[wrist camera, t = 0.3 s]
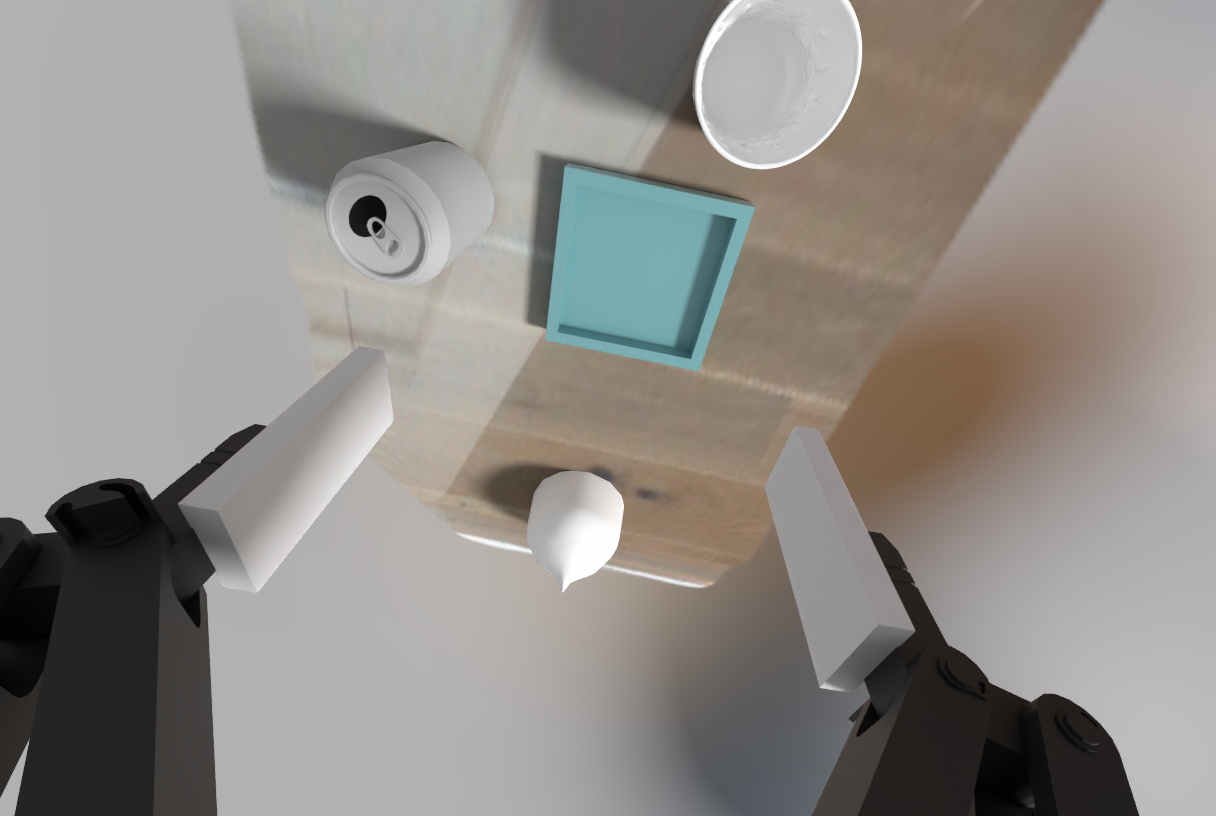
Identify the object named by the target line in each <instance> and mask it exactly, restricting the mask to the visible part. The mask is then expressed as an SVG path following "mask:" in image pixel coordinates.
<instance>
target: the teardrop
mask: <svg viewBox="0 0 1216 816" xmlns="http://www.w3.org/2000/svg"><path fill="white" fill-rule="evenodd" d="M623 510H624V504H623V500H622V496H621V495H620V494H619V492H618V491H617V490H616V489H615V488H614V487H613V486H612V484H611V483H610V482H608V481H606V480H604V479H602V478H600V477H598V476H596V475H594V474H592V473H588V472H581V471H565V472H559V473H557V474H554V475H552V476H550V477H548V478H546V479H544V480H542V482H541V483H540V485H539V486H538V488H537V489H536V491H535V492H534V496H533V500H532V505H531V510H530V515H529V520H528V525H527V540H528V545H529V547H530V549H531V551H532V553H533V555H534V557H535V558H536V560H537V562H538V563H539V564H540V565H541V566H542V567H544V568H545V569H546V570H547V571H548V572H549V573H550V574H551V575H552V576H554V577H555V578H556V579H557V580H558V583H559V586H560V588H561V591H562V593H563V591H564V590H565V589H566V587H567V586H568V585H569V583H571V582H573V581H575V580H578V579H581V578H584V577H587V576H589V575H591V574H594V573H595V572H596V571H597V570H598V569H599V568H600V567H601V566H603V565H604V564H605V563H606V562H607V561H608V560H609V559H610V558H611V557H612V555H613V553H614V552H615V550H616V548H617V545H618V542H619V538H620V531H621V524H622V517H623Z"/></svg>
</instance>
